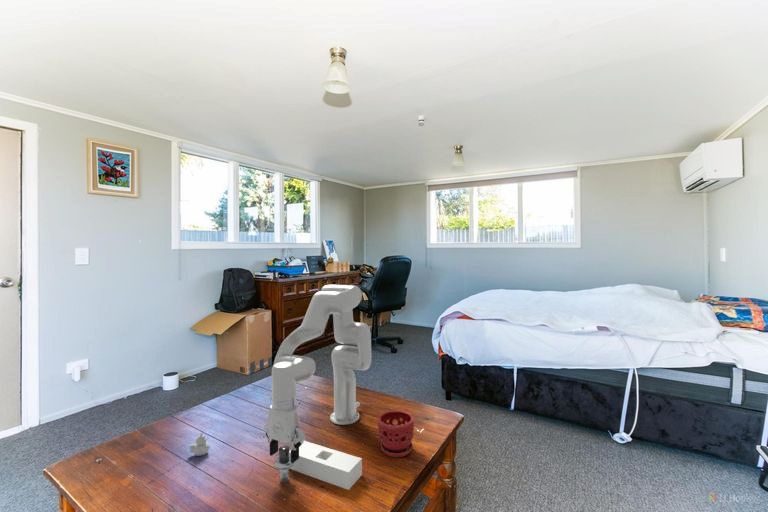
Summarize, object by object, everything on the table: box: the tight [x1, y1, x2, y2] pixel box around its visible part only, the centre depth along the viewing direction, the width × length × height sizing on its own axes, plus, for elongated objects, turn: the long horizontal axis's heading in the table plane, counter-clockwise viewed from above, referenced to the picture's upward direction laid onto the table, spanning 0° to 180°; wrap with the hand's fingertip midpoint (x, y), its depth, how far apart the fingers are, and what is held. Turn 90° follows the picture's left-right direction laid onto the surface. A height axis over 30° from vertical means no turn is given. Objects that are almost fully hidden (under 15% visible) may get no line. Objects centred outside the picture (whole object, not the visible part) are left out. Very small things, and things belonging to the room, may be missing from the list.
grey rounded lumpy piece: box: [188, 432, 211, 457], centre depth 124 cm, size 5×7×8 cm
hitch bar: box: [289, 440, 363, 491], centre depth 114 cm, size 8×24×5 cm, turn 63°
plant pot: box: [377, 410, 415, 458], centre depth 126 cm, size 13×13×12 cm
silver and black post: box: [273, 445, 294, 483], centre depth 110 cm, size 6×6×10 cm
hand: (284, 456), depth 110 cm, fingers open, 8 cm apart
